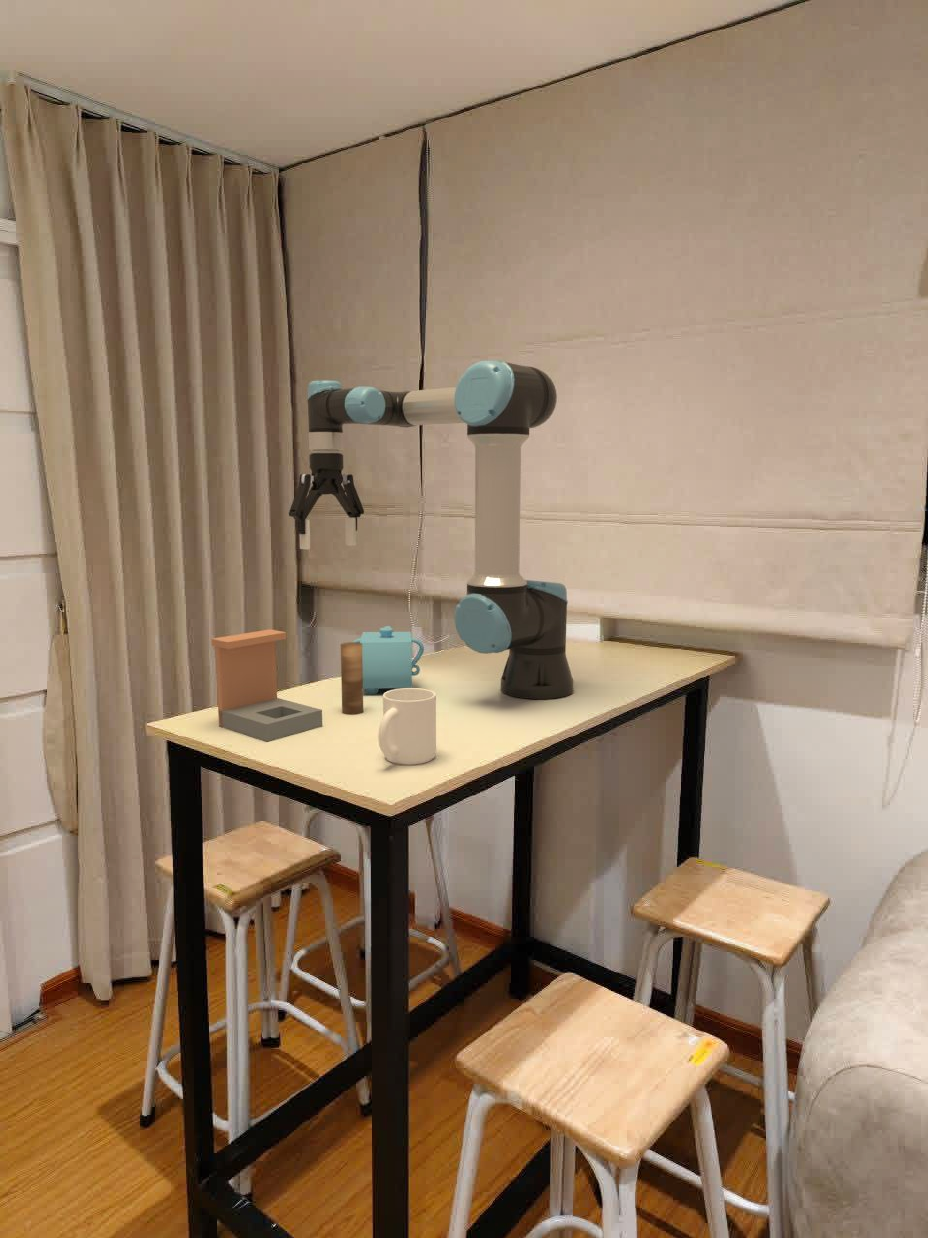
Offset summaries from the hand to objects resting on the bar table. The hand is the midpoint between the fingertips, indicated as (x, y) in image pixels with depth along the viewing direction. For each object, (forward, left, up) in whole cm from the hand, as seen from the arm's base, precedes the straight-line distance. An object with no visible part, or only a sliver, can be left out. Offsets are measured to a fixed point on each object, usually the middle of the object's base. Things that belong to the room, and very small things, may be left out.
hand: (328, 547), depth 195 cm
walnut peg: (-32, +23, -28) cm, 48 cm away
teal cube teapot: (-22, +4, -28) cm, 36 cm away
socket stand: (-28, +39, -28) cm, 55 cm away
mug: (-59, +37, -28) cm, 75 cm away
